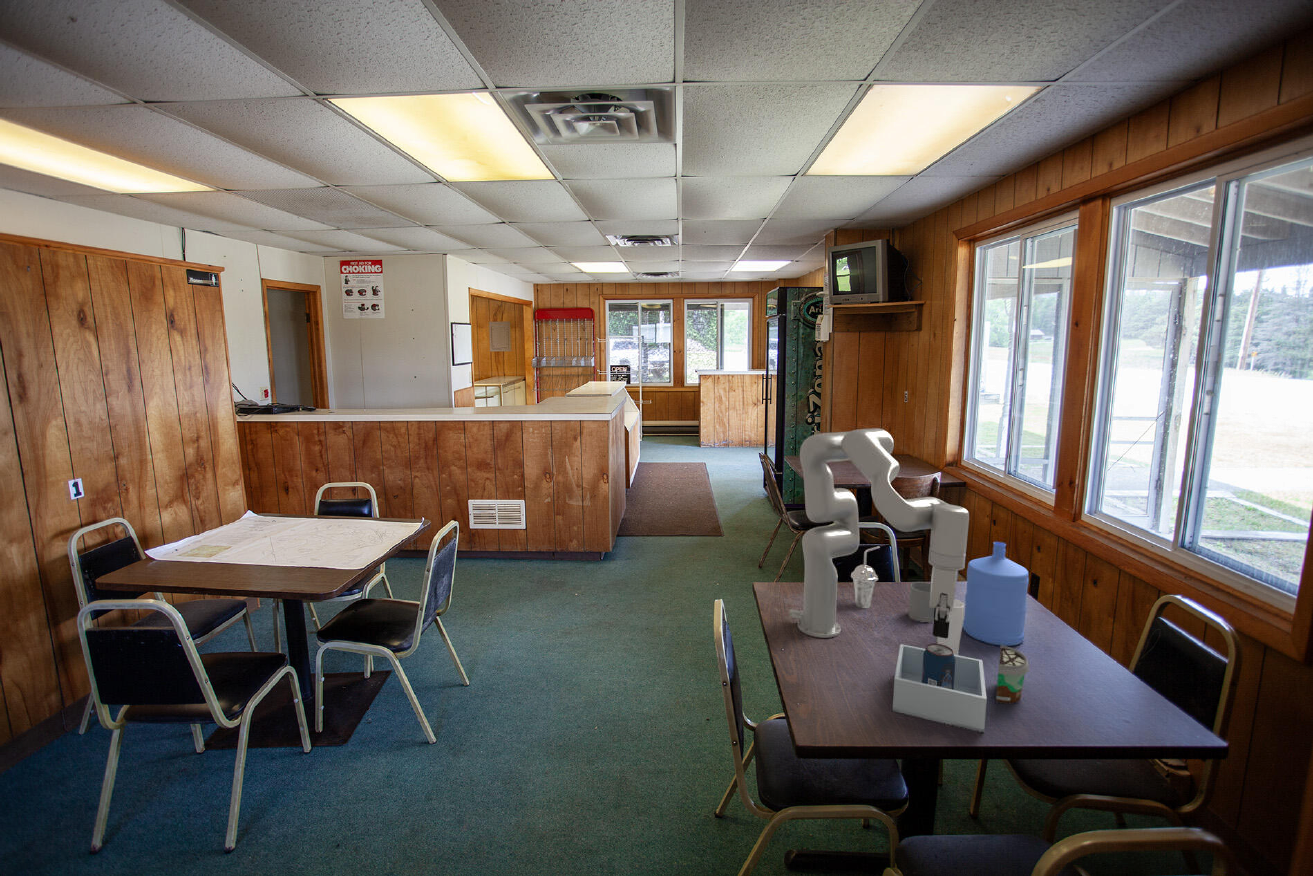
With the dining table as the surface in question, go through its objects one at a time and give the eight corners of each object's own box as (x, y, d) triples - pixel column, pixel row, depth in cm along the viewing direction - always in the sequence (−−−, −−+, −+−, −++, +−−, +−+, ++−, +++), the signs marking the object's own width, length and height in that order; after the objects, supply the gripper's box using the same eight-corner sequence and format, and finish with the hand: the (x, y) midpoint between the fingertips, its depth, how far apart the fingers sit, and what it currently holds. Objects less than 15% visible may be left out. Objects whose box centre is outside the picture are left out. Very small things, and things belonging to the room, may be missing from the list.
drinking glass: (964, 661, 159) (968, 608, 157) (937, 659, 160) (940, 606, 158) (956, 649, 166) (960, 598, 164) (931, 647, 167) (934, 596, 165)
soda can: (928, 685, 146) (931, 639, 144) (957, 696, 141) (960, 649, 139) (915, 695, 141) (918, 648, 140) (945, 708, 136) (949, 659, 135)
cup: (939, 615, 188) (941, 585, 186) (935, 625, 181) (937, 594, 179) (911, 609, 192) (912, 580, 191) (906, 618, 185) (908, 588, 184)
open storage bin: (892, 711, 136) (894, 678, 135) (898, 673, 153) (900, 644, 152) (983, 733, 128) (986, 699, 127) (980, 690, 145) (982, 660, 144)
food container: (1026, 713, 136) (1029, 672, 134) (995, 704, 139) (998, 665, 138) (1026, 688, 146) (1029, 650, 145) (997, 681, 149) (1000, 643, 148)
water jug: (1012, 653, 164) (1020, 556, 160) (954, 633, 175) (960, 542, 172) (1031, 635, 174) (1039, 544, 170) (974, 618, 185) (981, 532, 182)
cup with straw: (848, 599, 200) (850, 542, 198) (876, 601, 198) (878, 544, 196) (851, 609, 192) (853, 550, 189) (880, 612, 190) (883, 552, 188)
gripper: (930, 545, 145) (924, 610, 148) (927, 568, 130) (921, 640, 133) (964, 549, 142) (957, 616, 145) (965, 574, 127) (958, 648, 129)
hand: (940, 627), depth 139 cm, fingers open, 9 cm apart
